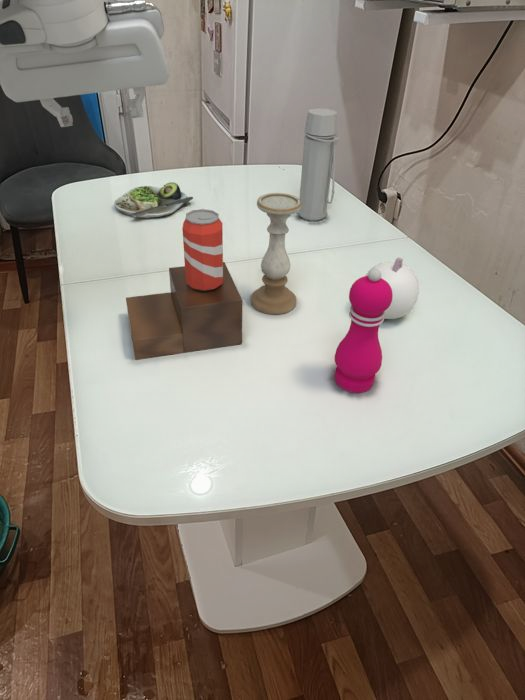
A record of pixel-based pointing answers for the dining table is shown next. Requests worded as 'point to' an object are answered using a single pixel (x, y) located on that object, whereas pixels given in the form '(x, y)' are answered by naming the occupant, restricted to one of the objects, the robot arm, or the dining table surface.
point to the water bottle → (318, 163)
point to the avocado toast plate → (152, 201)
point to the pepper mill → (363, 334)
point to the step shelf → (185, 318)
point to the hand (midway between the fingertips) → (102, 119)
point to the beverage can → (203, 249)
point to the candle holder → (276, 255)
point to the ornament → (399, 287)
